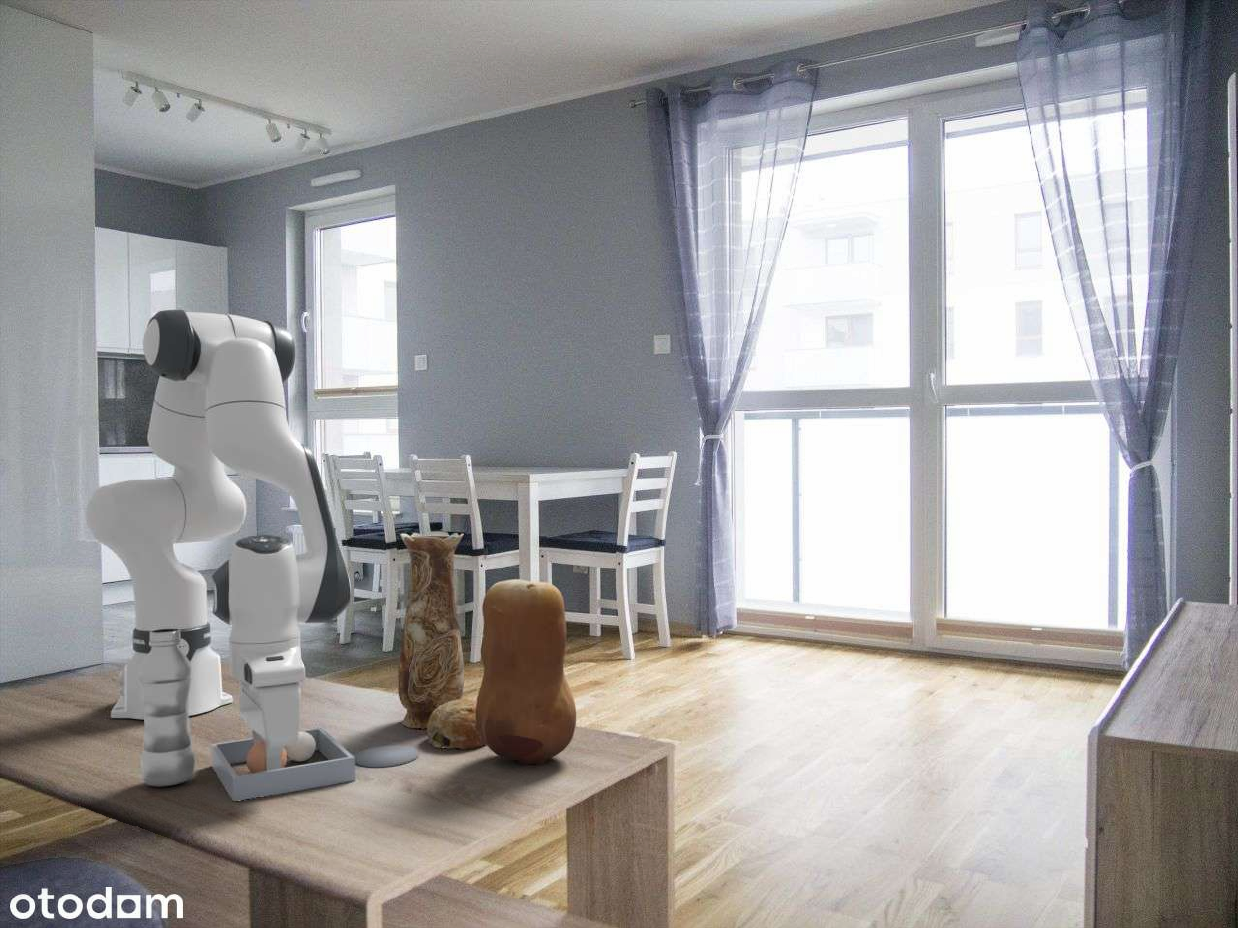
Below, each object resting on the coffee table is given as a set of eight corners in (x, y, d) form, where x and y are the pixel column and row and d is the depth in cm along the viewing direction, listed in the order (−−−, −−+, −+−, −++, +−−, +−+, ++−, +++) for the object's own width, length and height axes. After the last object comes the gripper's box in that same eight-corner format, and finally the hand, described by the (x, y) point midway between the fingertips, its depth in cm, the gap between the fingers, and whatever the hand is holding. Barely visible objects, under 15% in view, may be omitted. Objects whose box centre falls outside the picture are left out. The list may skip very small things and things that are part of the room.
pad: (345, 754, 140) (345, 752, 140) (406, 744, 145) (406, 742, 145) (363, 771, 133) (363, 769, 133) (427, 760, 137) (427, 758, 137)
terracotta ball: (243, 776, 131) (243, 738, 131) (282, 769, 134) (282, 732, 134) (251, 786, 127) (250, 747, 127) (291, 779, 130) (290, 741, 130)
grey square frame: (211, 766, 136) (210, 744, 136) (321, 748, 144) (321, 727, 144) (233, 802, 121) (233, 778, 121) (355, 780, 129) (354, 757, 129)
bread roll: (421, 768, 146) (407, 725, 142) (452, 722, 154) (440, 680, 151) (481, 774, 142) (468, 731, 139) (509, 727, 151) (498, 685, 148)
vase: (432, 710, 164) (429, 530, 164) (480, 719, 158) (477, 532, 158) (384, 725, 156) (381, 534, 156) (432, 735, 150) (429, 537, 149)
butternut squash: (573, 743, 144) (570, 572, 144) (580, 772, 131) (577, 584, 131) (476, 748, 143) (474, 575, 142) (474, 778, 129) (471, 587, 129)
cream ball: (283, 759, 138) (282, 731, 138) (312, 755, 140) (311, 727, 140) (289, 767, 135) (288, 738, 135) (319, 762, 137) (318, 733, 137)
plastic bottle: (160, 796, 124) (157, 636, 124) (129, 787, 128) (126, 632, 128) (206, 781, 130) (203, 628, 129) (174, 773, 133) (172, 624, 133)
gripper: (226, 649, 138) (228, 749, 138) (255, 677, 120) (257, 790, 120) (273, 644, 141) (275, 741, 141) (308, 670, 124) (310, 781, 124)
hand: (267, 764), depth 131 cm, fingers open, 5 cm apart
